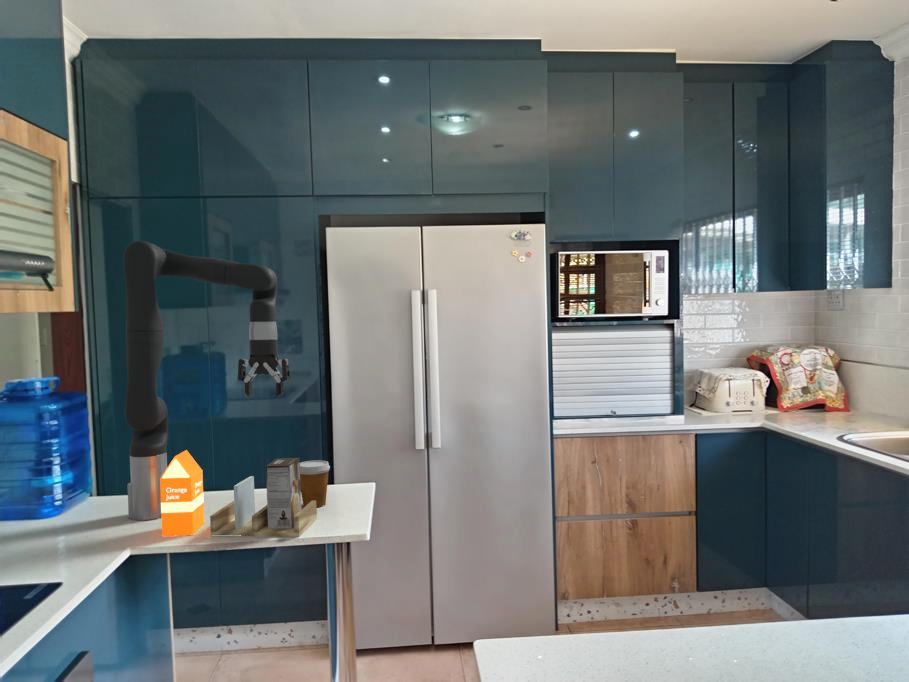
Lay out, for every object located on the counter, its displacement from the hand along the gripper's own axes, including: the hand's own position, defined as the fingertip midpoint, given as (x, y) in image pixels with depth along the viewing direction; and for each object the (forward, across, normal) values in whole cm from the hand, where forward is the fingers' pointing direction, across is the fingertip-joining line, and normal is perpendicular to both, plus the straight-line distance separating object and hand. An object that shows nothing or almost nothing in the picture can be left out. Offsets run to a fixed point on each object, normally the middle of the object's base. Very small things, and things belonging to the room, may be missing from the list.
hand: (264, 396), depth 180 cm
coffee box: (+31, +11, -15) cm, 36 cm away
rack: (+32, +6, -15) cm, 36 cm away
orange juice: (+33, -14, -18) cm, 40 cm away
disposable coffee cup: (+32, +12, +5) cm, 35 cm away
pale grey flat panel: (+32, +1, -15) cm, 35 cm away
